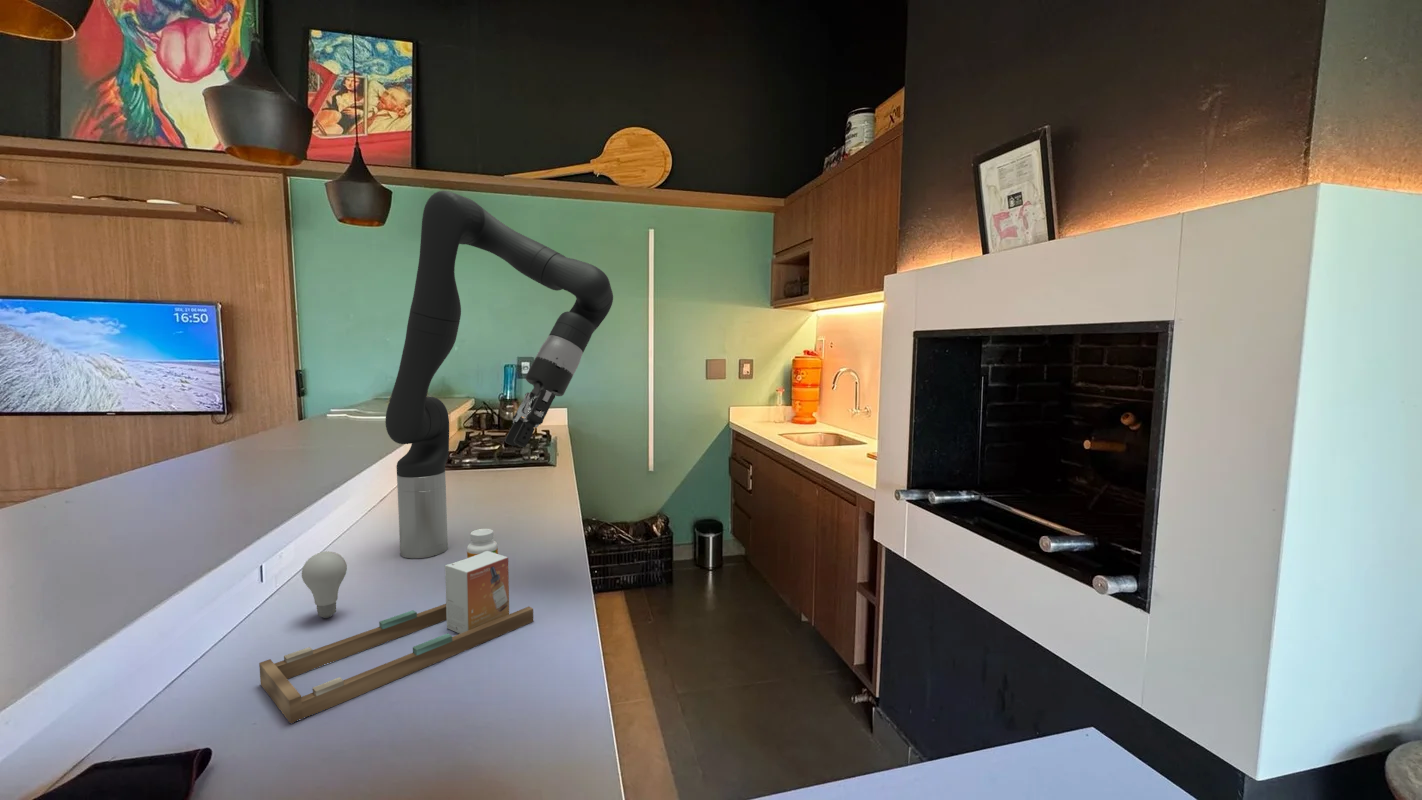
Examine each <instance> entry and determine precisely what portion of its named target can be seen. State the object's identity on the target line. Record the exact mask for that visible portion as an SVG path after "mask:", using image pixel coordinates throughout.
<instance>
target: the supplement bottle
mask: <svg viewBox="0 0 1422 800" xmlns="http://www.w3.org/2000/svg"><path fill="white" fill-rule="evenodd" d="M470 541H471V542H469V544H468V545H467V548H466V555H467V556H466V559H467V558H470V557H472V556H475V555H478V554H481V553H483V552H485V551H490V552H493V553H496V554H499V550H498V549H499V548H498V543H497V541H495V540H494V530H493V529H491V528H479V529H475V530H472V531H471V532H470Z"/></svg>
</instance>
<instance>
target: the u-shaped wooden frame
mask: <svg viewBox="0 0 1422 800" xmlns="http://www.w3.org/2000/svg"><path fill="white" fill-rule="evenodd" d="M444 621H447V618H446V603H444V604H440V605H438V606H435V607H432V608H430V609H427V610H424V611H421V612H417V611H415V610H414V609H413V610H410V611H407V612H406V611H405V612H403V613H401V614H398V615H394V616H392V617H389V618H385V619H383V620H380V621H378V625H379V626H378V627H375V628H373V629H369V630H366V631H364V632H360V633H357V634H355V635H352V636H348V637H346V638H344V639H339V640H338V641H335V642H333V643H329V644H326V645H324V646H321V647H317V648H315V649H312V647H310V646H308V647H306V648H303V649H299V650H297V651H293V652H291V653H288V654H285V655H284V656H283V660H280V661H277V662H275V663H274V662H273V661H272V659H266V660H264V661H261V662H259V663H258V665H259V679H260V680H259V681H260V686H261V687H262V688H263V690H264V691H265V692H266V694H267V695H268V696H269V697H270V699H271V700H272V701H273V703H274V704H275V705H276V707H277V708H278V709H279V711H280V710H281V711H282V712H281V711H280V712H281V714H282V715H283V714H284V715H285V716H284V715H283V716H284V717H285V718H287V719H288V720H287V719H286V720H287V721H288V723H289V722H290V723H293V722H295V721H297V720H299V719H302V718H304V717H307V716H309V717H311V716H310V715H312V714H314V715H316V714H315V713H317V714H319V713H321V712H323V711H322V710H324V711H325V709H326V710H328V709H330V707H331V708H333V707H335V706H337V705H339V704H342V703H344V702H347V701H349V700H352V699H354V698H356V697H359V696H362V695H363V694H366V693H368V692H371V691H374V690H375V689H378V688H381V687H382V686H384V685H388V684H389V683H391V682H394V681H396V680H398V679H401V678H403V677H406V676H409V675H410V674H411V675H412V674H413V673H415V672H418V671H420V670H422V669H424V668H428V667H429V666H432V665H434V664H437V663H439V662H441V661H444V660H446V659H449V658H450V657H454V656H455V655H458V654H460V653H463V652H465V651H468V650H469V649H472V648H474V647H477V646H478V645H481V644H483V643H486V642H488V641H491V640H493V639H496V638H498V637H500V636H503V635H505V634H507V633H510V632H512V631H514V630H517V629H519V628H522V627H524V626H526V625H528V624H531V623H532V622H534V608H533V607H531V606H526V607H524V608H522V609H519V610H515V611H514V612H511V613H509V615H506V616H504V617H501V618H498V619H496V620H493V621H491V622H488V623H486V624H483V625H481V626H478V627H476V628H473V629H471V630H468V631H466V632H463V633H461V634H460V633H457V634H456V635H454V636H453V635H451V634H450V633H445V634H442V635H440V636H438V637H435V638H432V639H430V640H428V641H424V642H422V643H419V644H418V645H417V644H416V645H414V646H413V647H412V652H410V653H408V654H405V655H403V656H401V657H398V658H396V659H394V660H391V661H389V662H385V663H383V664H381V665H378V666H376V667H373V668H370V669H368V670H366V671H363V672H360V673H358V674H356V675H353V676H351V677H348V678H346V679H342V677H340V676H339V677H336V678H334V679H331V680H329V681H327V682H324V683H321V684H319V685H315V686H313V687H312V689H311V690H312V692H311V693H308V694H306V695H303V696H302V695H301V694H300V692H299V691H298V690H297V689H296V688H295V687H294V685H293V684H292V683H291V681H289V679H291V678H294V677H297V676H298V675H301V674H304V673H307V671H308V672H310V671H312V669H313V670H315V669H314V668H316V669H318V668H320V667H319V666H321V667H323V666H322V665H324V664H326V665H328V664H327V663H329V664H331V663H330V662H332V663H334V662H336V660H337V661H339V659H340V660H342V658H343V659H344V658H348V657H351V656H352V655H355V654H359V653H361V652H363V651H366V649H367V650H369V649H372V648H374V646H375V647H377V646H379V645H383V644H385V642H386V643H388V642H391V641H394V640H396V639H398V638H401V637H403V636H407V635H409V634H412V633H415V632H417V631H420V630H421V631H422V630H423V629H426V628H428V627H431V626H434V625H437V624H440V623H442V622H444ZM393 639H394V640H393ZM390 640H391V641H390ZM387 641H388V642H387ZM382 643H383V644H382ZM371 647H372V648H371ZM358 652H359V653H358ZM350 655H351V656H350ZM347 656H348V657H347ZM333 661H334V662H333ZM324 666H325V665H324ZM317 667H318V668H317ZM309 670H310V671H309ZM320 711H321V712H320ZM318 712H319V713H318ZM312 716H313V715H312ZM307 718H308V717H307ZM302 720H303V719H302ZM290 723H289V724H290ZM295 723H296V722H295ZM293 724H294V723H293Z"/></svg>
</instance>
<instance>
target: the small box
mask: <svg viewBox="0 0 1422 800" xmlns="http://www.w3.org/2000/svg"><path fill="white" fill-rule="evenodd" d="M444 571H445V572H444V574H445V575H444V579H445V604H446V618H447V620H446V629H448V630H451V631H453V632H455V633H457V634H461V633H463V632H466V631H468V630H471V629H473V628H476V627H478V626H481V625H483V624H486V623H488V622H491V621H493V620H496V619H498V618H501V617H504V616H506V615H509V614H510V590H509V589H510V588H509V587H510V583H509V582H510V581H509V573H510V572H509V557H508V556H506V555H502V554H499V553H498V554H496V553H493V552H490V551H485V552H483V553H481V554H478V555H475V556H472V557H470V558H467V557H466V558H464V559H461V560H458V561H455V562H453V563H452V562H451V563H448V564H446V565H444Z"/></svg>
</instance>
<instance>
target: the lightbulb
mask: <svg viewBox="0 0 1422 800" xmlns="http://www.w3.org/2000/svg"><path fill="white" fill-rule="evenodd" d="M347 567H348V565H347V562H346V560H345V559H344V557H343V556H342V555H340V554H339V553H336V552H334V551H327V550H326V551H320V552H317V553H315V554H314V555H312V556H311V557H309V558H308V559H307V560H306V562H305V563H304V564H303V567H302V569H301V578H302V582H303V583H304V584H305V586H306V587H307V588H308V589H309V591H310V592H311V594H312V597H313V600H314V604H315V605H316V609H317V610H316V611H317V615H318V617H321V618H323V619H328V618H331V616H333V615H335V613H336V612H337V601H338V598H339V589H340V586H341V584H342V582H343V581H344V578H345V577H346V574H347V571H348V568H347Z"/></svg>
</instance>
